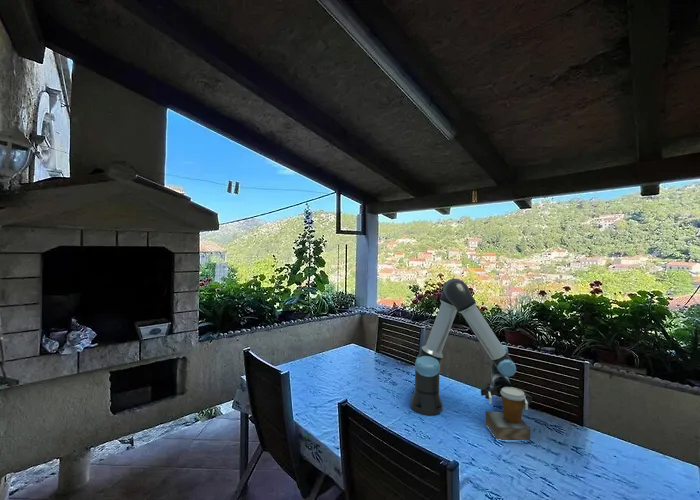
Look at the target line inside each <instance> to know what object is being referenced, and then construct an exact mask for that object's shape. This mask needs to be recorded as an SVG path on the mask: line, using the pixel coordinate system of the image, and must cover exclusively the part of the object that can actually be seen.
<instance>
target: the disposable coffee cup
mask: <svg viewBox="0 0 700 500" xmlns="http://www.w3.org/2000/svg"><path fill="white" fill-rule="evenodd" d="M521 390H522V389H521ZM521 390H519V389H517V387H504V388H502V390H501V392H500V393H501V395H500V396H501V400H502V401H501V402H502V410H503V412H504V419H505V420H506V421H508V422H511V423H520V422H521V419H522V415H523V410H524V409H523V408H524V405H523V404H524V399H525V397H526V396H525V394H524V392H525V391H523V390H522V391H521Z"/></svg>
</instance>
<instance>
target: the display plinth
mask: <svg viewBox="0 0 700 500" xmlns="http://www.w3.org/2000/svg"><path fill="white" fill-rule="evenodd" d="M486 425H487V426H488V427H489V429H490V430H491V432H492V433H493V434H494V436H495V437H496V438H497V439H501V440H530V441H531V427H530V426H529V425H528V424H527V423H526V422H525V421H524V420H523V419H522V418H521V422H520V423H511V422H508V421H506V420H505V419H504V412H502V411H489V410H488V411H485V426H486ZM487 426H486V427H487ZM489 429H488V430H489ZM491 432H490V433H491Z"/></svg>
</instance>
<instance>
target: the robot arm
mask: <svg viewBox="0 0 700 500" xmlns="http://www.w3.org/2000/svg"><path fill="white" fill-rule="evenodd" d="M442 288H443V290H442V292H441V295H440V298H439V302H440V303H441V304H440V305H439V306H440V307H439V310H438V312H437V314H436V317H435V319H434V320H435V321H434V323H433V325H432V327H431V331H430V333H429V336H428V339H427V340H426V344H425V345H423V346H421V349H420V351H419V353H418V355H417V357H416V360H415V362H414V368H415V369H414V392H413V393H412V397H411V400H410V407H411V409H412V410H413V411H414V412H416V413H418V414H420V413H421V414H420V415H424V414H426V416H434V415H433V414H437V415H439V414H438V413H440V412H441V411H442V412H443V402H442V399H441V398H442V397H441V396H440V372H441V363H442V362H443V361H442V360H443V358H444V355H443V352H442V351H443V349H444V346H445V345H446V341H447V339H448V336H449V333H450V331H451V328H452V325H453V322H454V320H455V318H456V315H457V312H458V313H459V314H461V315H462V316H463V318H464V319H465V321H466V323H467V324H468V325H469V328H471V330H472V332H473V333H474V335H475V337H476V338H477V339H478V341H479V342H480V344H481V345H482V347H483V349H484V350H485V351H486V353H487V355H488V356H489V357H490V359H491V366H490V367H491V370H490V379H491V381H492V384H493V385H491V383H487V384H486V386H484V387H483V388H481V389H480V396H482V397H484V396H485V397H484V398H485V399H487V400H488V402H489V405H492V402H493V401H492V397H493V396H495V395H496V396H499V395H500V396H502V395H501V393H500V392H501V390H502V388H504V387H512V384H511V382H510V379H509V378H510V377H513V376H514V375H515V374H516V372H517V366H516V364H515V362H514V361H513V360H512V358H511V357H510V356H509V348H508V347H507V346H505V345H502V343H501V342H500V340H499V339H498V336H496V334H495V332H494V331H493V330H492V328H491V327H490V325H489V323H488V322H487V321H486V319H485V317H484V316H483V314H482V313H481V311H480V310H479V308H478V307H477V301H476V300H475V298H474V297H473V294H472V293H471V290H470V288H469V286H468V285H467V284H466V282H464V281H463V280H461V279H459V278H450V279H449V280H447V281H446V282H445V283H444V285H443V287H442ZM512 388H513V387H512ZM516 389H519V390H521V391H523V390H522V389H521V388H519V387H516ZM523 392H524V394H525V396H526V397H525V399H524V404H523V408H524V409H525V410H526V411H528V409H529V406H530V404H532V403H533V397H532V396H531V395H530V394H528V393H526V392H525V391H523ZM442 412H441V413H442ZM441 413H440V414H441Z"/></svg>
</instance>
